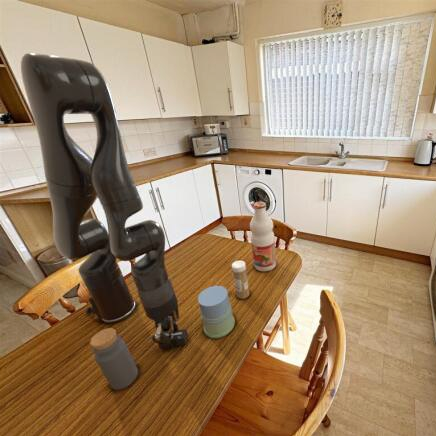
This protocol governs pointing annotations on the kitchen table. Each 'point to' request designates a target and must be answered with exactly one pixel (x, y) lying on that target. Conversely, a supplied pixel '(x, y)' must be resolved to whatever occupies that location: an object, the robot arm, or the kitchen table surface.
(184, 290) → the kitchen table surface
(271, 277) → the kitchen table surface
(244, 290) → the sprinkles bottle
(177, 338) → the clip
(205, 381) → the kitchen table surface
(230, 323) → the stacked cups
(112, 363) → the bottle
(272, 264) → the fruit juice
